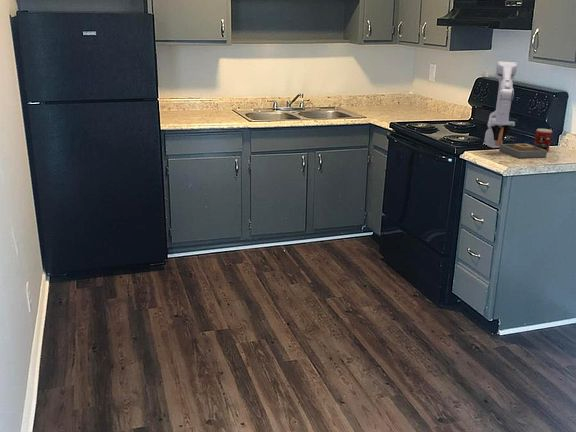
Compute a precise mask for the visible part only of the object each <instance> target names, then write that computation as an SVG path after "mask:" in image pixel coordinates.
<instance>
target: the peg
mask: <svg viewBox="0 0 576 432" xmlns="http://www.w3.org/2000/svg"><path fill="white" fill-rule="evenodd" d="M500 128H501V130H500V132H499V136H498V140H497V141H495V145H497V146H501V142H502V143H503V141H502V136H503V130H504V127H500Z"/></svg>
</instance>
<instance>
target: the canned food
mask: <svg viewBox="0 0 576 432" xmlns="http://www.w3.org/2000/svg"><path fill="white" fill-rule="evenodd" d="M552 136H553V130H552V129H549V128H548V129H547V128H537V129H536V130H535V136H534V142H533V146H535V147H538V148H541V149H544V150H547V153H548V152H549V151H550V146H551V140H552Z"/></svg>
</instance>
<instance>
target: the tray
mask: <svg viewBox="0 0 576 432" xmlns="http://www.w3.org/2000/svg"><path fill="white" fill-rule="evenodd" d="M499 152H502V153H504V154H506V155H509V156H511V157H514V158H515V159H521V160H522V159H539V158H540V159H542V158H544V159H545V158H547V155H548V152H547V150H544V149H541V148H538V147H535V146H534V145H532V144H529V143H502V144H501V146H500V148H499Z"/></svg>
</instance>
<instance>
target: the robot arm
mask: <svg viewBox="0 0 576 432" xmlns="http://www.w3.org/2000/svg"><path fill="white" fill-rule="evenodd" d="M517 69H518V62H517V61H515V62H513V61H500V60H498V61H497V62H496V66H495V79H498V89H497V90H498V91H497V99H496V105H495V110H494V111H493V112H491V113H490V114H489V117H488V120H487V129H486V131H485V133H484V142H482V143H483V144H482V145H484V144H485V145H484V146H486V145H487V147H489V148H492V149H498V148H499V149H500V146H497V145H495V141H497V140H498V136H499V132H500V130H501V128H500V127H504V130H503V136H502V142H501V144H503V141H505V138H506V135H507V134H508V133H509V131H510V130H511V127H515V126H516V121H513V120H512V121H510V119H509V118H510V110H511V105H512V101H513V99H514V97H515V96H514V94H515V92H514V91H515V89H514V86H513V85H514V83H513V79H514V78H515V76H516V74H517V71H518V70H517Z"/></svg>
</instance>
